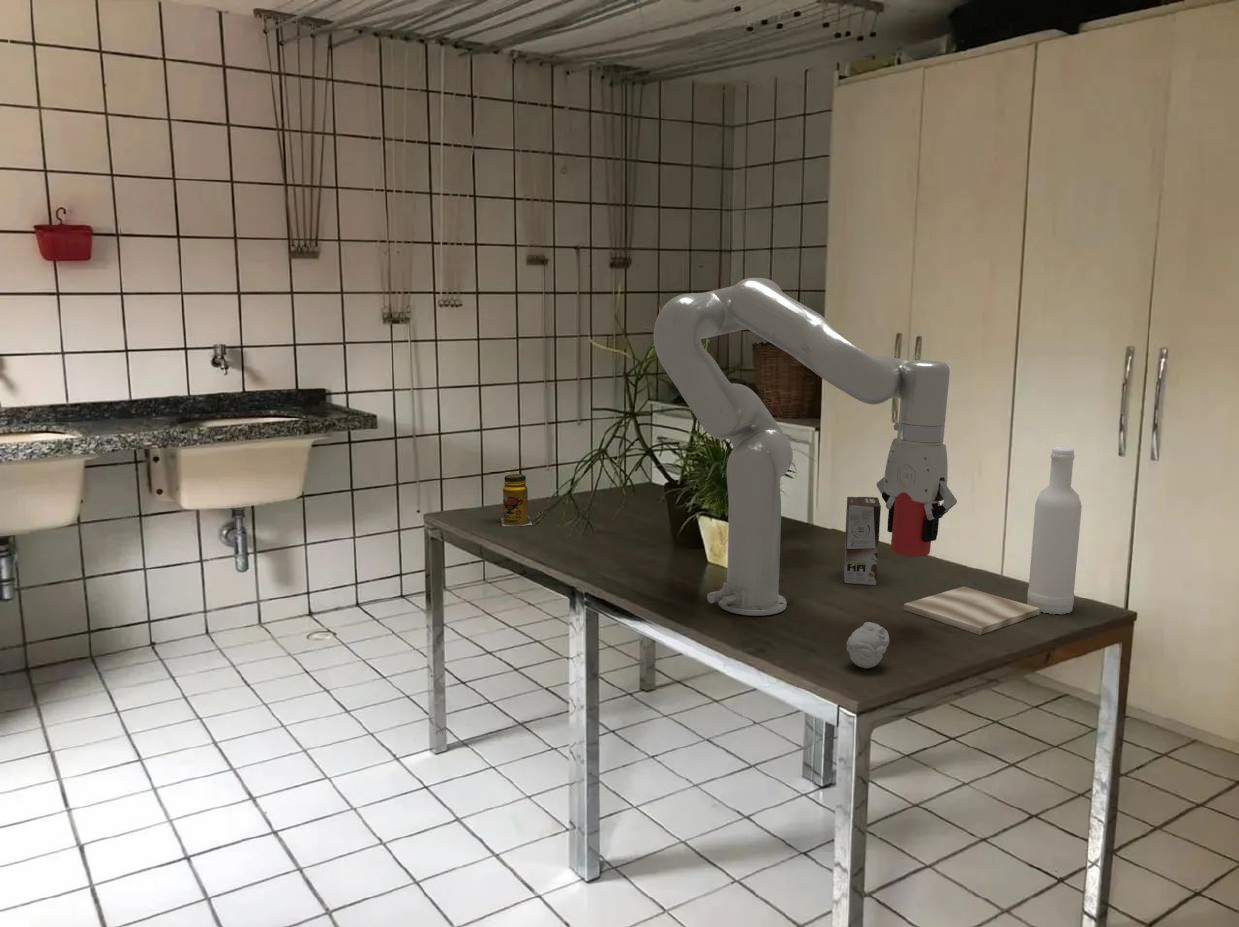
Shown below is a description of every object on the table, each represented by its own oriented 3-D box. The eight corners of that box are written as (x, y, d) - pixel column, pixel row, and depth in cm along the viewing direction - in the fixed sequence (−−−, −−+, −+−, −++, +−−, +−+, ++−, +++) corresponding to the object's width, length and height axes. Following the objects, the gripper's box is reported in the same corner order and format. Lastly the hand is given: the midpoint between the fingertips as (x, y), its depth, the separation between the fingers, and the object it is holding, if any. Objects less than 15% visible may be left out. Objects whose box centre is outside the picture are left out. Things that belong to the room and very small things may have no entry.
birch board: (980, 634, 171) (980, 628, 171) (903, 609, 184) (904, 603, 183) (1039, 614, 181) (1039, 608, 181) (963, 592, 194) (963, 586, 194)
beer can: (907, 560, 169) (913, 491, 167) (882, 549, 175) (888, 482, 172) (937, 556, 172) (944, 488, 169) (912, 546, 177) (918, 480, 175)
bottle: (1028, 598, 190) (1040, 443, 185) (1073, 604, 187) (1087, 446, 181) (1025, 611, 183) (1038, 450, 178) (1072, 617, 180) (1087, 453, 174)
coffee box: (877, 585, 198) (881, 506, 195) (844, 583, 199) (847, 504, 196) (875, 572, 207) (879, 496, 204) (843, 570, 208) (846, 495, 205)
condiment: (502, 527, 243) (501, 478, 241) (500, 518, 252) (499, 472, 249) (532, 525, 245) (531, 477, 242) (529, 517, 253) (528, 471, 251)
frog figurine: (896, 669, 156) (899, 626, 155) (863, 677, 152) (865, 634, 151) (869, 656, 161) (871, 614, 160) (835, 664, 158) (838, 622, 156)
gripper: (865, 427, 174) (857, 527, 177) (950, 443, 160) (940, 551, 164) (893, 425, 178) (885, 522, 182) (978, 440, 164) (968, 544, 168)
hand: (911, 535), depth 173 cm, fingers closed on beer can, 6 cm apart
